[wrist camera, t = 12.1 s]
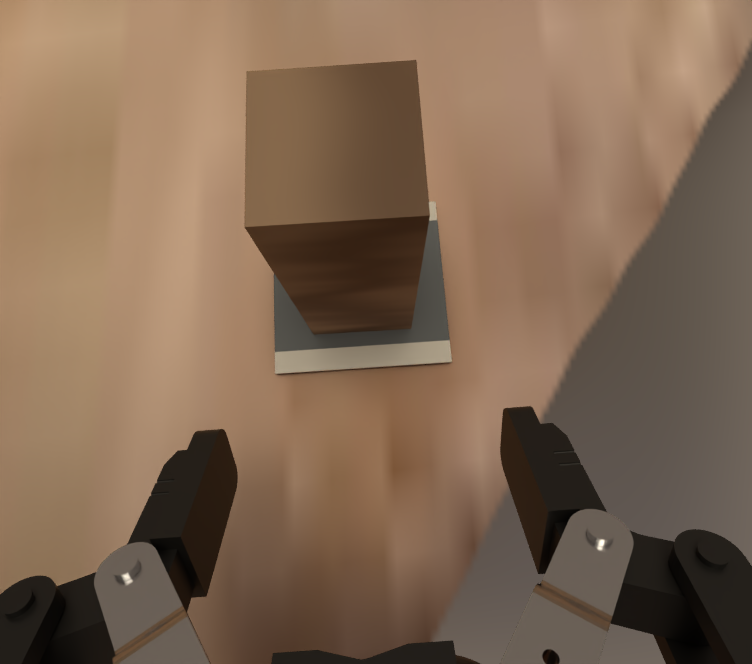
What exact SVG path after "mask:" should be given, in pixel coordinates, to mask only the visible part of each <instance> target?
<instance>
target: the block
mask: <svg viewBox="0 0 752 664" xmlns="http://www.w3.org/2000/svg"><path fill="white" fill-rule="evenodd" d="M429 219H430V210H429V199H428V187H427V176H426V165H425V153H424V142H423V131H422V119H421V108H420V96H419V85H418V74H417V62H416V60H411V61H396V62H381V63H366V64H351V65H336V66H322V67H307V68H292V69H277V70H262V71H247V80H246V156H245V229H246V230H247V232H248V233H249V235H250V236H251V238H252V239H253V241H254V243H255V244H256V246H257V247H258V249H259V250H260V252H261V253H262V255H263V257H264V258H265V260H266V261H267V263H268V264H269V266H270V267H271V269H272V271H273V272H274V274H275V275H276V277H277V278H278V280H279V281H280V283H281V285H282V286H283V288H284V289H285V291H286V292H287V294H288V295H289V297H290V299H291V300H292V302H293V303H294V305H295V306H296V308H297V309H298V311H299V313H300V314H301V316H302V317H303V319H304V320H305V322H306V323H307V325H308V327H309V328H310V330H311V331H312V333H313V334H314V335H315V334H332V333H349V332H366V331H383V330H400V329H411V327H412V321H413V315H414V309H415V303H416V297H417V291H418V285H419V279H420V273H421V267H422V261H423V255H424V249H425V243H426V237H427V231H428V225H429Z"/></svg>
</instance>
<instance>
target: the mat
mask: <svg viewBox="0 0 752 664" xmlns="http://www.w3.org/2000/svg"><path fill="white" fill-rule="evenodd" d="M429 210H430V219H429V225H428V231H427V237H426V243H425V249H424V255H423V261H422V267H421V273H420V279H419V285H418V291H417V297H416V303H415V309H414V315H413V321H412V327H411V329H400V330H383V331H366V332H349V333H332V334H315V335H314V334H313V333H312V331H311V330H310V328H309V327H308V325H307V323H306V322H305V320H304V319H303V317H302V316H301V314H300V313H299V311H298V309H297V308H296V306H295V305H294V303H293V302H292V300H291V299H290V297H289V295H288V294H287V292H286V291H285V289H284V288H283V286H282V285H281V283H280V281H279V280H278V278H277V277H276V275H275V274H274V321H275V374H286V373H301V372H315V371H330V370H345V369H360V368H375V367H390V366H404V365H419V364H434V363H449V362H452V359H451V349H450V340H449V330H448V320H447V311H446V301H445V291H444V281H443V272H442V262H441V252H440V242H439V233H438V223H437V213H436V203H435V201H434V202H429Z"/></svg>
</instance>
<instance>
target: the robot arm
mask: <svg viewBox="0 0 752 664" xmlns="http://www.w3.org/2000/svg"><path fill="white" fill-rule="evenodd" d="M500 453H501V461H502V466H503V470H504V473H505V476H506V479H507V482H508V485H509V488H510V491H511V494H512V497H513V500H514V503H515V506H516V509H517V512H518V515H519V518H520V521H521V524H522V527H523V529H524V533H525V536H526V539H527V542H528V544H529V548H530V551H531V554H532V557H533V560H534V562H535V566H536V569H537V572H538V574H545V575H544V578H543V580H542V582H541V583H540V584H537V585H536V586H535V588H534V590H533V592H532V594H531V596H530V598H529V601H528V603H527V605H526V607H525V609H524V611H523V614H522V616H521V618H520V621H519V623H518V625H517V627H516V630H515V632H514V634H513V636H512V638H511V640H510V643H509V645H508V647H507V649H506V652H505V654H504V656H503V658H502V661H501V663H500V664H598V663H599V660H600V656H601V653H602V650H603V646H604V643H605V640H606V636H607V633H608V630H609V626H610V623H611V624H615V625H619V626H623V627H626V628H630V629H635V630H638V631H642V632H646V633H650V634H653V635H654V637H655V639H656V641H657V644H658V646H659V649H660V651H661V653H662V655H663V658H664V660H665V662H666V664H752V566H751V565H750V563H749V562H748V560H747V559H746V557H745V556H744V555H743V553H742V552H741V551H740V550H739V549H738V548H737V547H736V546H735V545H734V544H732V543H731V542H730V541H728V540H727V539H725V538H723V537H721V536H719V535H717V534H715V533H712V532H708V531H705V530H696V529H695V530H687V531H684V532H682V533H681V534H679V535H678V536H677V538H676V539H675V542H673V541H668V540H663V539H658V538H653V537H648V536H644V535H640V534H637V533H635V532H632V531H630V530H629V529H628V528H627V526H626V525H625V524H624V523H623V522H622V521H621V520H619V519H618V518H617V517H615V516H613V515H612V514H609V513H608V512H607V511H606V509H605V508H604V506H603V504H602V502H601V500H600V498H599V496H598V494H597V492H596V491H595V489H594V487H593V485H592V483H591V481H590V479H589V477H588V475H587V473H586V472H585V470H584V468H583V466H582V465H581V463H580V460H579V458H578V456H577V454H576V453H575V452H574V449H573V447H572V445H571V443H570V441H569V439H568V437H567V435H566V434H564V433H563V432H562V431H561V430H560V429H559V428H557V427H556V426H555V425H554V424H553V423H547V424H540V422H539V420H538V418H537V416H536V414H535V412H534V410H533V408H532V407H531V406H527V407H514V408H505V409H504V410H503V418H502V432H501V446H500ZM237 479H238V477H237V467H236V464H235V461H234V457H233V454H232V451H231V448H230V444H229V441H228V438H227V435H226V432H225V431H224V430H223V429H218V430H205V431H196V432H195V433H194V435H193V437H192V440H191V442H190V444H189V447H188V449H187V450H181V451H177V452H176V453H175V454H174V455H173V456H172V457H171V458H170V459H169V460H168V461H167V463H166V464H165V465H164V466H163V469H162V471H161V473H160V475H159V477H158V479H157V483H156V484H155V486H154V488H153V490H152V492H151V496H150V497H149V499H148V501H147V503H146V505H145V507H144V510H143V512H142V514H141V516H140V518H139V520H138V522H137V525H136V527H135V529H134V531H133V533H132V535H131V537H130V540H129V542H128V544H127V545H125V546H123V547H121V548H119V549H117V550H116V551H114V552H113V553H112V554H110V555H109V556H108V557H107V558H106V559H105V560H104V561H103V562H102V564H101V565H100V567H99V568H98V570H97V572H95V573H93V574H90V575H88V576H85V577H82V578H79V579H77V580H74V581H71V582H68V583H65V584H62V585H60V586H56V584H55V583H54V582H53V580H52V579H51V578H49V577H46V576H33V577H29V578H26V579H23V580H21V581H19V582H17V583H15V584H14V585H12V586H11V587H9V588H8V589H6V590H5V591H4V592H3V593H1V594H0V664H211V663H210V661H209V659H208V656H207V654H206V652H205V650H204V648H203V646H202V644H201V642H200V640H199V637H198V635H197V633H196V631H195V629H194V627H193V625H192V623H191V620H190V618H189V616H188V614H187V610H188V607H189V603H190V600H191V597H205V596H207V593H208V589H209V586H210V582H211V578H212V575H213V571H214V568H215V564H216V560H217V557H218V553H219V550H220V546H221V542H222V539H223V535H224V532H225V528H226V524H227V521H228V517H229V514H230V510H231V506H232V503H233V499H234V496H235V492H236V488H237ZM271 664H480V663H478V662H476V661H473V660H471V659H468V658H465V657H462V656H457V655H455V650H454V643H453V641H440V642H426V643H412V644H406V645H404V646H401V647H398V648H395V649H393V650H390V651H387V652H384V653H382V654H379V655H376V656H373V657H371V658H368V659H363V660H360V659H355V658H350V657H346V656H341V655H337V654H332V653H328V652H323V651H319V650H312V651H297V652H283V653H273V656H272V663H271Z"/></svg>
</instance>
